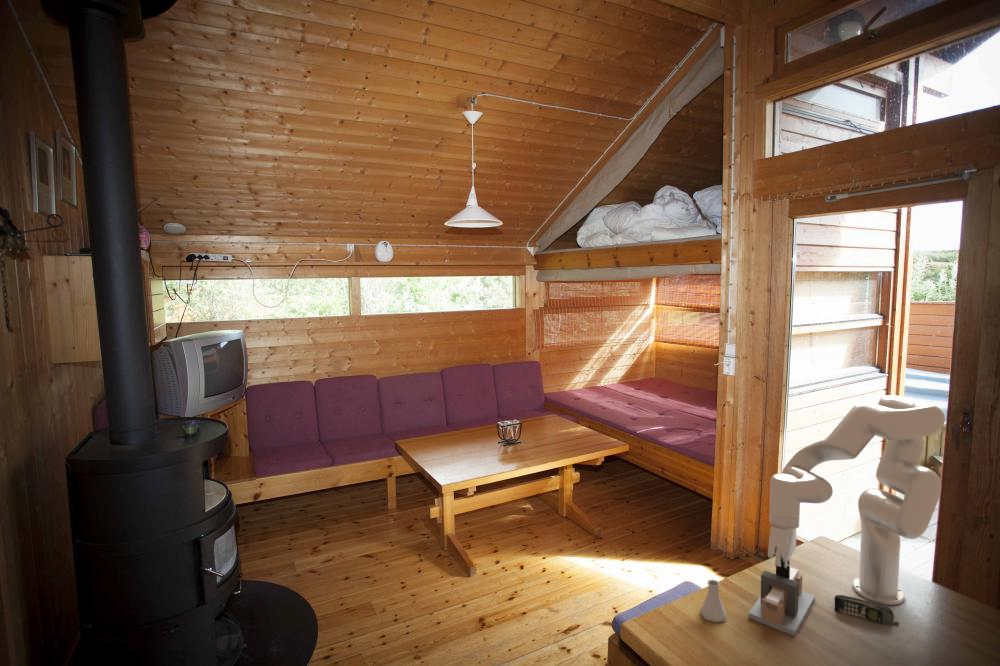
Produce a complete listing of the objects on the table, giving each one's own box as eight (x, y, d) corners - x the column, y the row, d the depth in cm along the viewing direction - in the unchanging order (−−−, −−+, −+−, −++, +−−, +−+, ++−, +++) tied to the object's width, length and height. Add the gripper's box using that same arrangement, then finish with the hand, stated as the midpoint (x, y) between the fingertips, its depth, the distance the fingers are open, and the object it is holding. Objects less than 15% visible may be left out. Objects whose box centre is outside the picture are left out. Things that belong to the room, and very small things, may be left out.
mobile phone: (834, 597, 152) (900, 612, 144) (834, 591, 155) (899, 606, 147) (834, 613, 153) (899, 629, 145) (834, 607, 155) (898, 623, 147)
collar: (764, 599, 157) (764, 570, 156) (798, 611, 151) (798, 582, 150) (760, 604, 155) (761, 575, 154) (794, 617, 149) (795, 587, 148)
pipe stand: (771, 585, 167) (771, 560, 166) (814, 600, 158) (815, 574, 157) (748, 617, 152) (748, 590, 151) (794, 636, 144) (795, 608, 143)
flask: (729, 624, 150) (729, 591, 149) (702, 622, 152) (702, 589, 150) (724, 608, 157) (724, 576, 156) (698, 606, 159) (698, 574, 157)
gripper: (778, 505, 160) (776, 562, 162) (761, 524, 149) (759, 585, 152) (806, 512, 155) (804, 571, 157) (790, 532, 144) (788, 595, 146)
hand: (782, 578), depth 154 cm, fingers closed
